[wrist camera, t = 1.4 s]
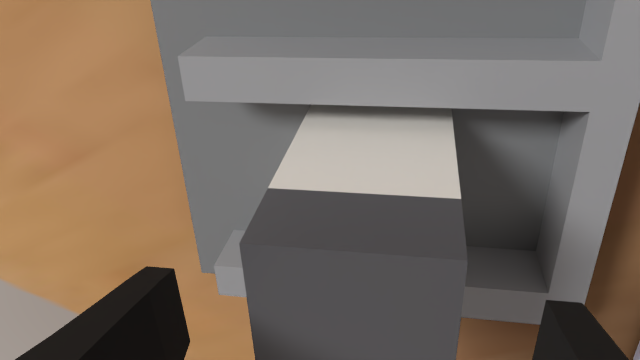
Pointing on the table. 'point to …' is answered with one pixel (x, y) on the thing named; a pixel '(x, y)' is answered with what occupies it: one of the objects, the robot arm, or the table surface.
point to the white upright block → (360, 240)
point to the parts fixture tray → (418, 91)
